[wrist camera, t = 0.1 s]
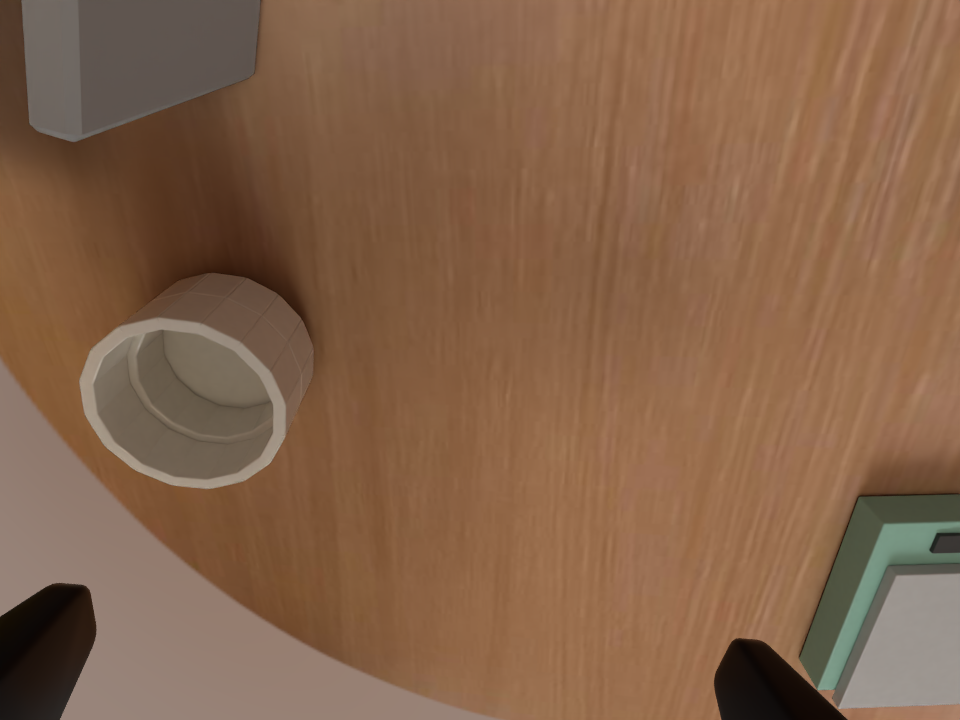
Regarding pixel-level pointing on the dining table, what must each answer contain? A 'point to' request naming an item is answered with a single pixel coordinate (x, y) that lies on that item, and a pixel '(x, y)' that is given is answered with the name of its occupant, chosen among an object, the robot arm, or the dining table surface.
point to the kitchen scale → (892, 607)
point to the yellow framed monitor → (130, 58)
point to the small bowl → (200, 381)
